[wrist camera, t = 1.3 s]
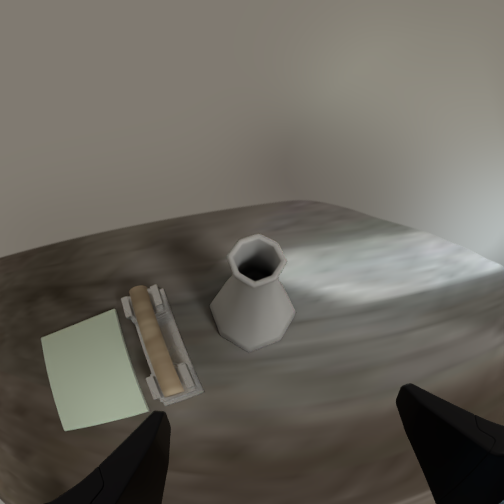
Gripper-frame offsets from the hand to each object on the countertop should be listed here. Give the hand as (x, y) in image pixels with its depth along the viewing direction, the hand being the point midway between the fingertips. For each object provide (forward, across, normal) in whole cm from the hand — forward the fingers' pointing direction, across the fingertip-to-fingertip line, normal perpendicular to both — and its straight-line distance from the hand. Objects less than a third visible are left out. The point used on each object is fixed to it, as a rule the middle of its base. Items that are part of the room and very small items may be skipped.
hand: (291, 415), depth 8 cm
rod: (+11, +8, +4) cm, 15 cm away
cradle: (+13, +8, +6) cm, 16 cm away
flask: (+15, 0, +4) cm, 16 cm away
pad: (+11, +16, +8) cm, 21 cm away
